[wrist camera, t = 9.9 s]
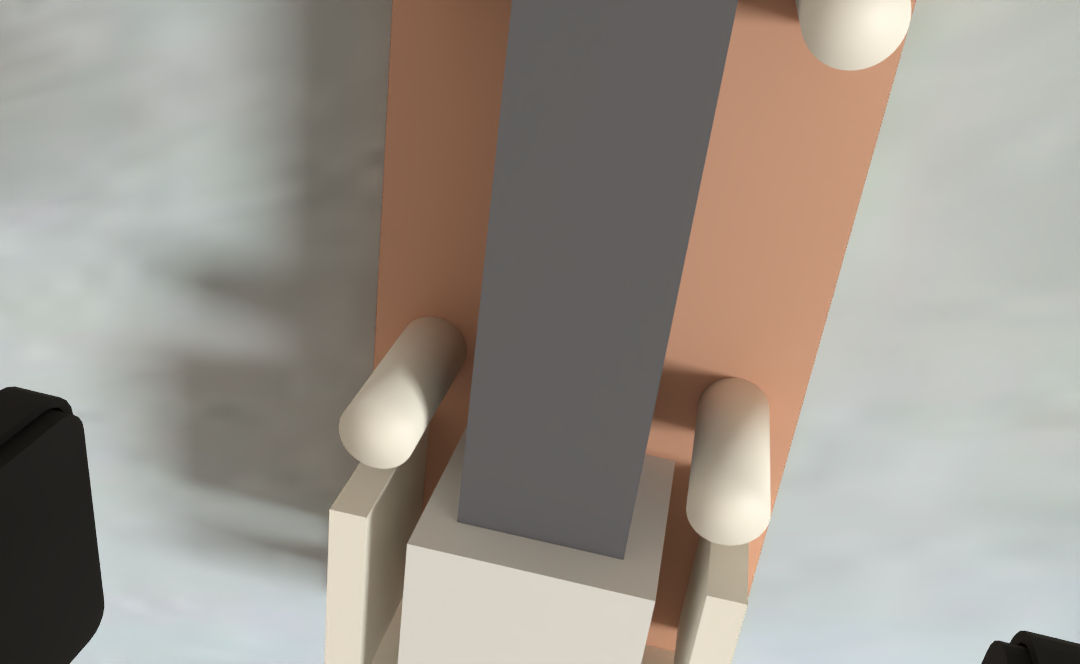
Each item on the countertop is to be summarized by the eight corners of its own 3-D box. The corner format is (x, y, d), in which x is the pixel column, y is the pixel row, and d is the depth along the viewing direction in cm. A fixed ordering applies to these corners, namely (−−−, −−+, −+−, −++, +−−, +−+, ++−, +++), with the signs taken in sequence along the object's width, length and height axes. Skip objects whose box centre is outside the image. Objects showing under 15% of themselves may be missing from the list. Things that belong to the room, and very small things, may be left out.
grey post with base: (572, -527, 16) (500, -665, 12) (887, -495, 16) (937, -630, 11) (454, 576, 27) (393, 721, 22) (640, 619, 26) (615, 777, 22)
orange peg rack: (440, -558, 17) (312, -716, 12) (1046, -503, 16) (1170, -653, 11) (372, 600, 29) (293, 753, 24) (717, 683, 28) (707, 860, 23)
